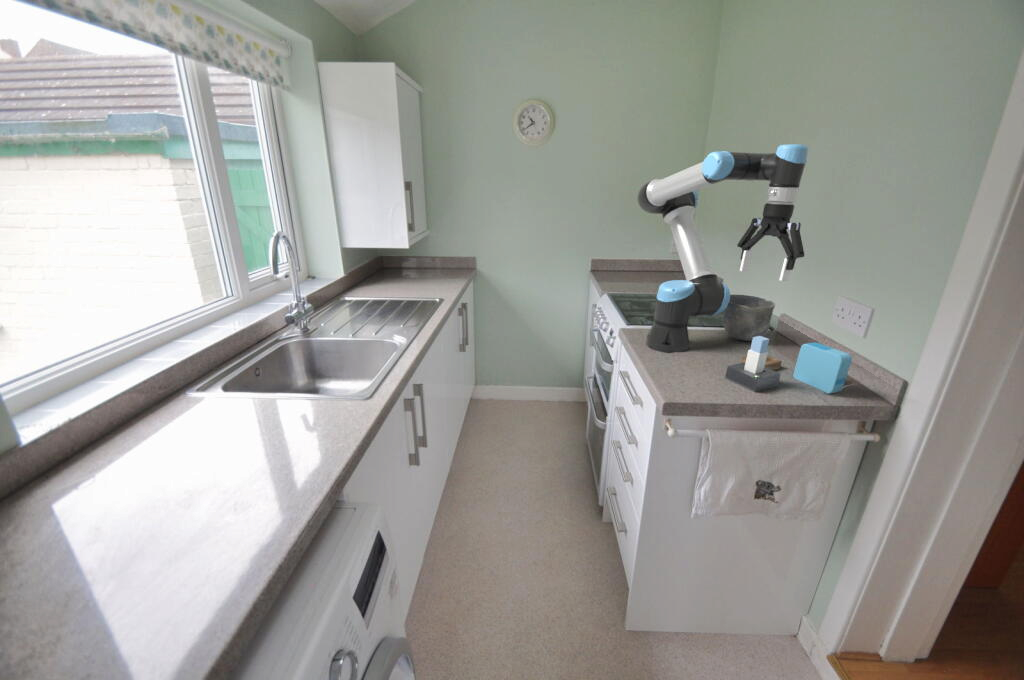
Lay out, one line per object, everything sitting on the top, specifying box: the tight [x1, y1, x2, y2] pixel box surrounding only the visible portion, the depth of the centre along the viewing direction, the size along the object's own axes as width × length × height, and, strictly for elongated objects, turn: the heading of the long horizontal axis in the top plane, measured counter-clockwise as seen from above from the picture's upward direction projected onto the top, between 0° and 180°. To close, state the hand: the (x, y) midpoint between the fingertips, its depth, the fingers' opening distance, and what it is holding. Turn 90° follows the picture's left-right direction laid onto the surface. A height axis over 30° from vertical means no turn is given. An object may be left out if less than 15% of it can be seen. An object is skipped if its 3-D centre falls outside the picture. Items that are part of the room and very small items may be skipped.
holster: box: [740, 354, 782, 371], centre depth 141 cm, size 8×8×3 cm
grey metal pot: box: [722, 294, 776, 342], centre depth 165 cm, size 18×18×15 cm
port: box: [724, 362, 781, 393], centre depth 129 cm, size 10×10×5 cm
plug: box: [744, 336, 770, 374], centre depth 127 cm, size 4×4×13 cm
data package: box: [792, 341, 853, 395], centre depth 127 cm, size 12×4×12 cm, turn 22°
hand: (762, 275), depth 132 cm, fingers open, 13 cm apart
